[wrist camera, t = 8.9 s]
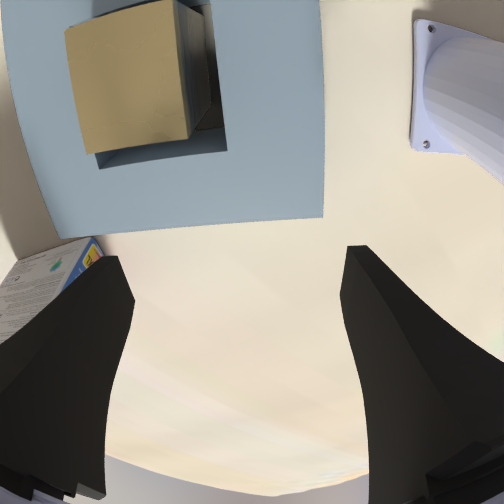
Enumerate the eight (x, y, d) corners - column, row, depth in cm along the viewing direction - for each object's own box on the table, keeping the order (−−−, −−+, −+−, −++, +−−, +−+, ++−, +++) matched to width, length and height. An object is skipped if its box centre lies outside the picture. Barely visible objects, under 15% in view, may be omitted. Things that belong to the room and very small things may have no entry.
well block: (295, -58, 9) (307, -87, 6) (309, 180, 18) (323, 217, 14) (45, 0, 10) (0, -1, 7) (89, 202, 19) (59, 239, 15)
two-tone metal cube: (203, 16, 12) (172, -2, 7) (211, 104, 15) (187, 138, 10) (128, 30, 12) (63, 30, 7) (140, 114, 15) (86, 154, 10)
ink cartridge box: (48, 304, 25) (-11, 438, 13) (15, 260, 22) (-65, 396, 10) (128, 289, 23) (71, 468, 12) (93, 232, 20) (-5, 421, 8)
